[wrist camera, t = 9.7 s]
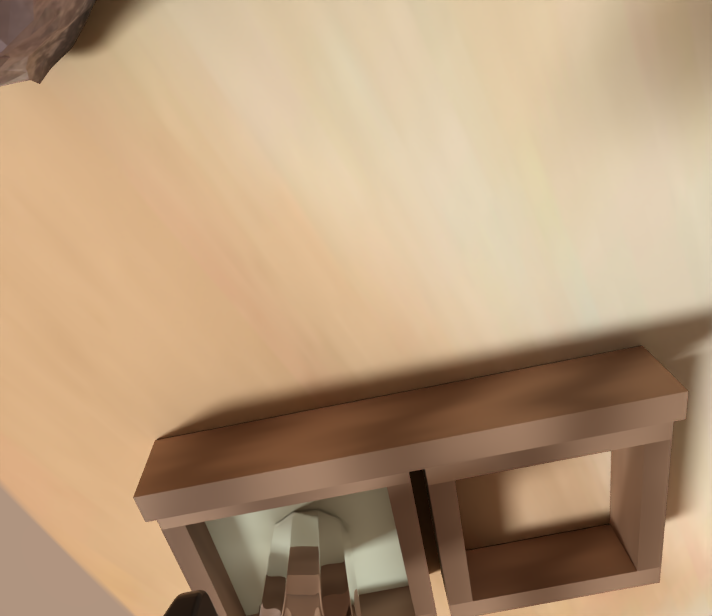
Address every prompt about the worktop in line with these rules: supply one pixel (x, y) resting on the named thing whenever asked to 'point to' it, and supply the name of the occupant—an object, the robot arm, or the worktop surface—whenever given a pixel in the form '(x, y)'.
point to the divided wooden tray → (428, 486)
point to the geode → (37, 35)
